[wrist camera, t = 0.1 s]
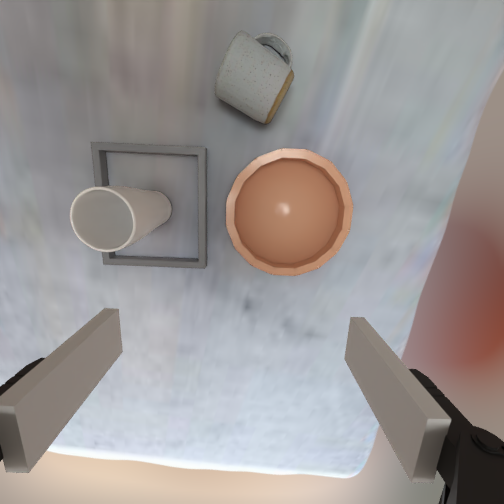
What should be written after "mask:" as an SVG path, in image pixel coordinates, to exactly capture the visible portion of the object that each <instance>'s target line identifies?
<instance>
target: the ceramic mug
mask: <svg viewBox="0 0 504 504" xmlns="http://www.w3.org/2000/svg"><path fill="white" fill-rule="evenodd" d="M261 44H267V45H270V46H272V47H273V48H274V49H276V50H277V51H278V52H279V53H280V54H281V56H283V57H284V58H285V61H286V63H285V62H284V61H283V60H281V59H280V58H279V57H277V56H276V55H274V54H273V53H271V52H270V51H269V50H268V49H266V48H265V47H264V46H263V45H261ZM291 64H292V53H291V50H290V48H289V46H288V45H287V44H286V43H285V42H284V41H283V40H282V39H281V38H280V37H278V36H277V35H274V34H271V33H263V34H259V35H257V36H256V37H255V38H252V37H251V36H250V35H249V34H247V33H246V32H244V31H240V32H239V33H238V34H237V35H236V36H235V38H234V39H233V41H232V42H231V44H230V46H229V48H228V50H227V52H226V54H225V57H224V59H223V61H222V64H221V66H220V69H219V71H218V75H217V80H216V83H215V95H216V96H217V97H218V98H219V99H221V100H223V101H225V102H226V103H228V104H230V105H231V106H233V107H234V108H236V109H238V110H240V111H241V112H243V113H245V114H246V115H248V116H250V117H251V118H253V119H254V120H256V121H259V122H261V123H264V124H267V123H270V122H271V120H272V118H273V116H274V114H275V113H276V111H277V109H278V107H279V105H280V103H281V101H282V99H283V98H284V96H285V94H286V92H287V90H288V88H289V86H290V84H291V82H292V81H293V78H294V73H293V71H292V69H291Z"/></svg>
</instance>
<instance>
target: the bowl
mask: <svg viewBox="0 0 504 504" xmlns="http://www.w3.org/2000/svg"><path fill="white" fill-rule="evenodd" d="M238 177H239V178H238ZM238 177H236V180H235V182H234V184H233V186H232V189H231V191H230V193H229V196H228V198H227V201H226V225H227V226H226V227H227V230H228V232H229V235H230V237H231V240H232V242H233V245H234V247H235V249H236V250H237V251H238V252H239V253H240V254H241V255H242V256H243V257H244V258H245V259H246V260H247V262H248V263H249V264H250V265H251V264H252V266H254V267H256V268H258V269H260V270H263V271H265V272H267V273H269V274H273V275H288V276H296V275H300V274H303V273H306V272H309V271H312V270H315V269H318V267H319V268H320V267H321V266H322V265H323V264H324V263H326V262H327V261H328V260H329V259H330V258H332V257H333V256H334V255H335V254H337V252H338V251H339V249H340V248H341V246H342V244H343V242H344V240H345V239H346V237H347V235H348V233H349V232H350V231H348V230H350V226H351V219H352V212H353V203H352V199H351V195H350V191H349V188H348V184H347V182H346V180H345V178H344V177H343V176H342V175H341V173H340V172H339V171H338V170H337V168H336V167H335V166H334V165H333V163H332V162H330V161H329V160H327V159H325V158H323V157H321V156H319V155H318V154H316V153H314V152H312V151H310V150H307V149H287V148H282V149H281V148H280V149H278V150H275V151H273V152H270V153H267V154H265V155H262V156H260V157H257V158H255V159H254V160H253V161H252V162H251V163H250V164H249V165H248V166H247V167H246V168H245V169H244V170H243V171H242V172H241V173H240V174H239V175H238ZM336 251H337V252H336Z"/></svg>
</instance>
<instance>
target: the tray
mask: <svg viewBox="0 0 504 504" xmlns="http://www.w3.org/2000/svg"><path fill="white" fill-rule="evenodd" d="M91 149H92V159H93V169H94V178H95V187H100V186H109V184H108V173H107V162H106V151H107V152H128V153H149V154H171V155H192V156H198V246H199V259H187V258H163V257H138V256H115V251H114V252H102V256H103V264H106V265H131V266H156V267H181V268H206V266H207V149H206V148H205V147H188V146H166V145H145V144H124V143H103V142H91Z"/></svg>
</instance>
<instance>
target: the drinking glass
mask: <svg viewBox="0 0 504 504" xmlns="http://www.w3.org/2000/svg"><path fill="white" fill-rule="evenodd" d="M171 211H172V208H171V204H170V201H169V200H168V198H167V197H166V196H165V195H164V194H162V193H160V192H158V191H148V190H142V189H136V188H131V187H125V186H100V187H92V188H88V189H86V190H84V191H82V192H81V193H80V194H78V195H77V197H76V198H75V199H74V201H73V203H72V205H71V209H70V221H71V225H72V228H73V230H74V232H75V234H76V235H77V236H78V238H79V239H80V240H81V241H82V242H83V243H84V244H86V245H87V246H89V247H90V248H92V249H95V250H98V251H102V252H114V251H117V250H120V249H123V248H125V247H128V246H130V245H132V244H134V243H136V242H138V241H140V240H141V239H143V238H144V237H145V236H147V235H148V234H149V233H150V232H152V231H153V230H154V229H156V228H157V227H158V226H160V225H162V224H164V223H165V222H166V221H167V220H168V219H169V218H170V215H171Z"/></svg>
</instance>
